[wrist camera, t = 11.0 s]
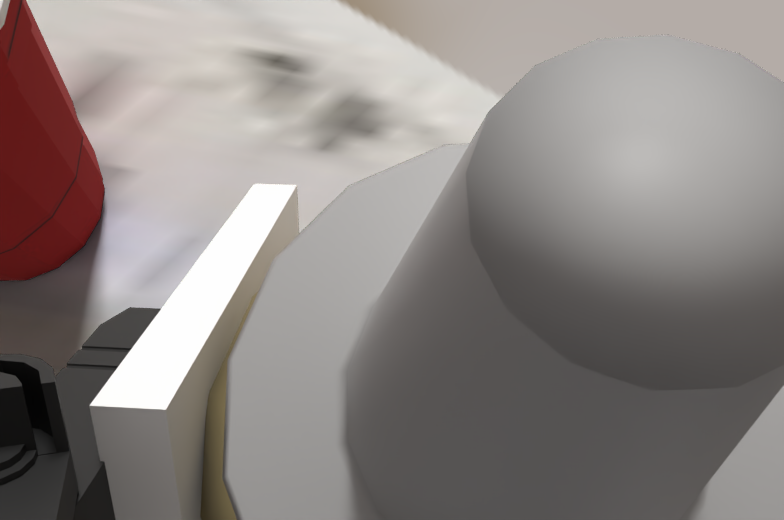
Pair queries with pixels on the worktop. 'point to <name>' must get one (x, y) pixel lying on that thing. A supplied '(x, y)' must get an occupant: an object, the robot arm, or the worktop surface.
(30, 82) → the plastic cup
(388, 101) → the worktop surface
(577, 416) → the squeeze bottle
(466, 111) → the worktop surface
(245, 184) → the worktop surface
